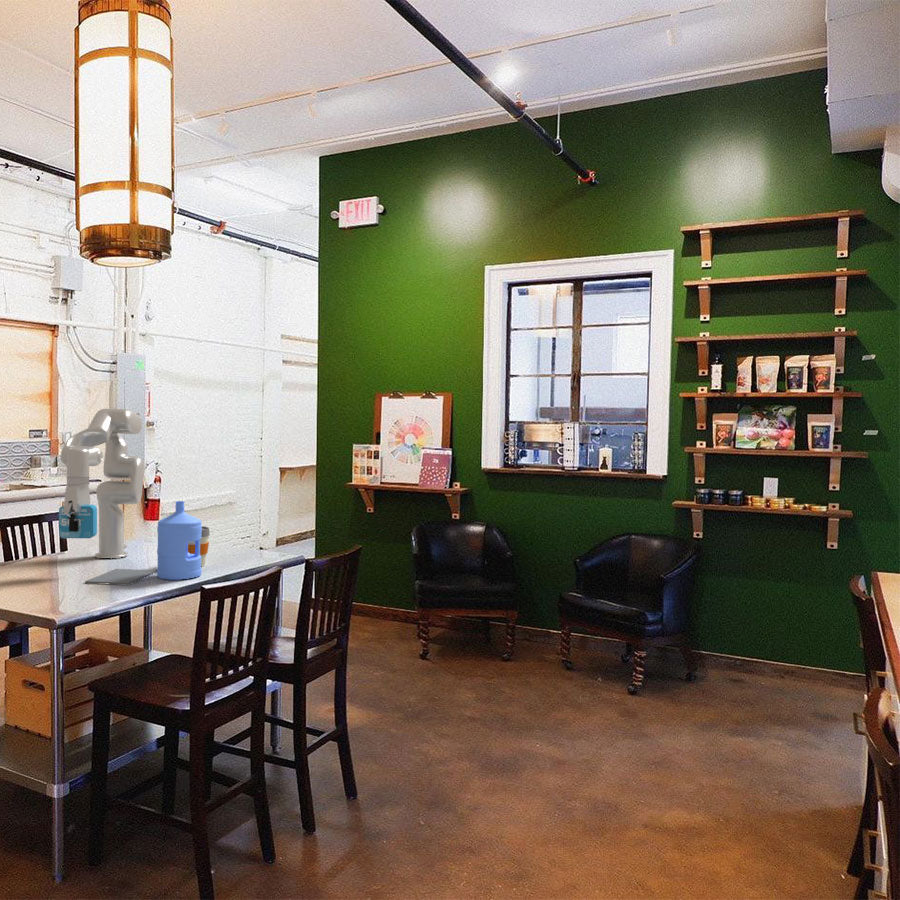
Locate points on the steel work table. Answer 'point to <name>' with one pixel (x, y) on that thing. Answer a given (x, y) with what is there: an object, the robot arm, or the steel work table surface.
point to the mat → (121, 576)
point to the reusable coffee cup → (201, 545)
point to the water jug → (178, 545)
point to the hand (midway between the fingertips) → (78, 529)
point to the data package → (79, 523)
